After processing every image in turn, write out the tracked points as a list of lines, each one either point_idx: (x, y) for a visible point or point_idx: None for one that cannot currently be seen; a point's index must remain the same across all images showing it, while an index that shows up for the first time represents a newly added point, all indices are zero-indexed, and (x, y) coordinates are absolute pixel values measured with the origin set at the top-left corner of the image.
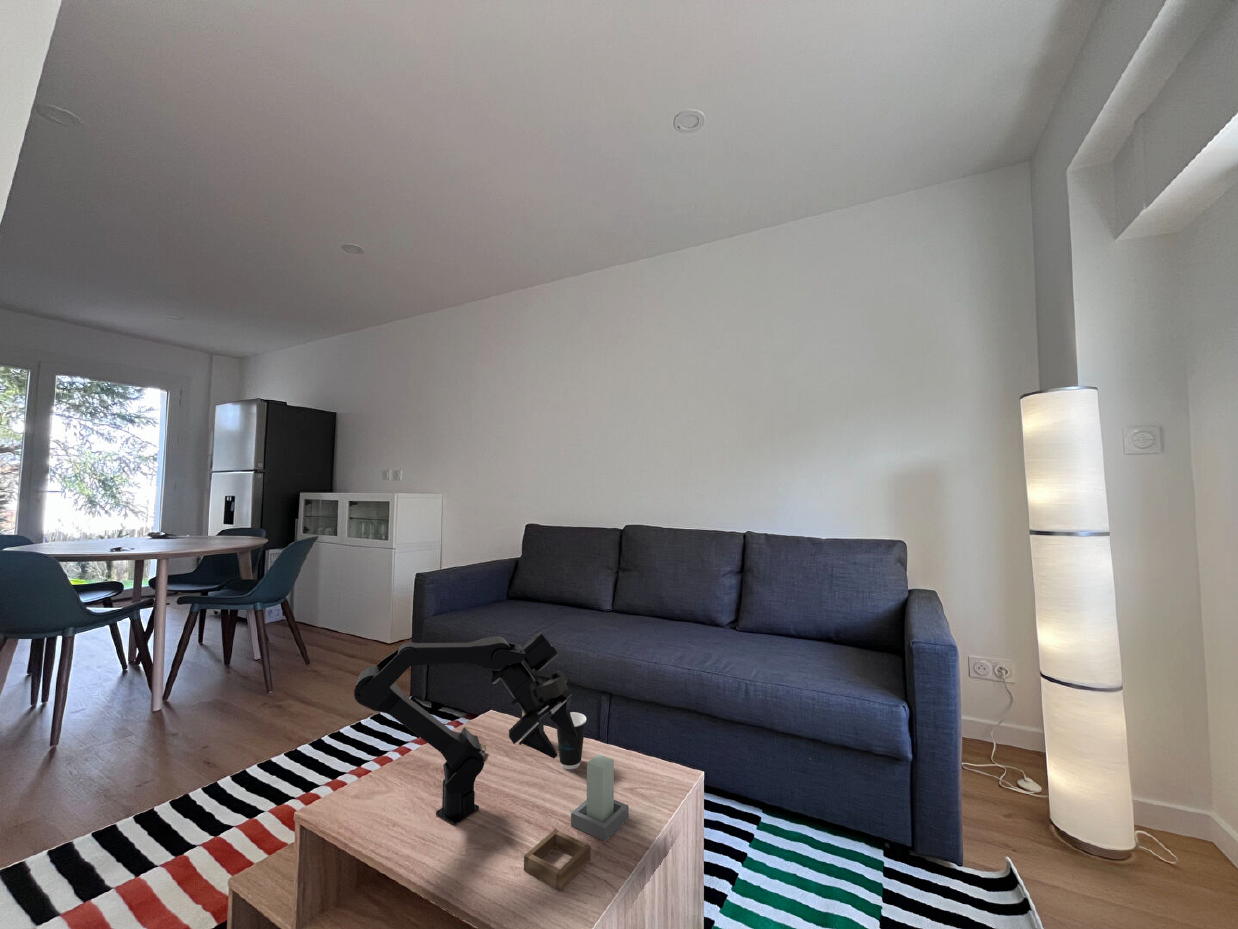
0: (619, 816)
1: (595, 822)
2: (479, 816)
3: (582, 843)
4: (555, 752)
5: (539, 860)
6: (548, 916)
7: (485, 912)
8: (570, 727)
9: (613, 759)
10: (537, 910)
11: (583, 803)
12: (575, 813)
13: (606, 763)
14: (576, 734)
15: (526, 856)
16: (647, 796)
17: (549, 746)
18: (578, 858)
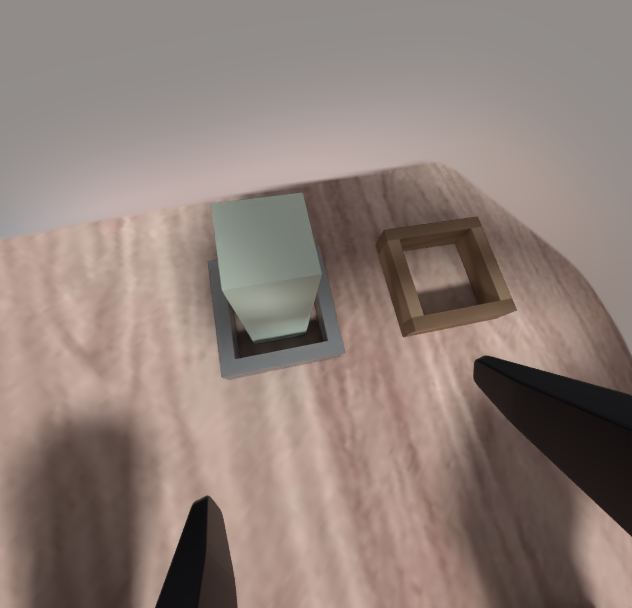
0: None
1: (323, 274)
2: (520, 602)
3: (394, 246)
4: (502, 362)
5: (495, 274)
6: (500, 211)
7: (585, 287)
8: (208, 600)
9: (211, 203)
10: (510, 231)
11: (290, 359)
12: (338, 340)
13: (260, 205)
14: (204, 500)
15: (513, 303)
16: (99, 298)
17: (580, 381)
18: (424, 224)
